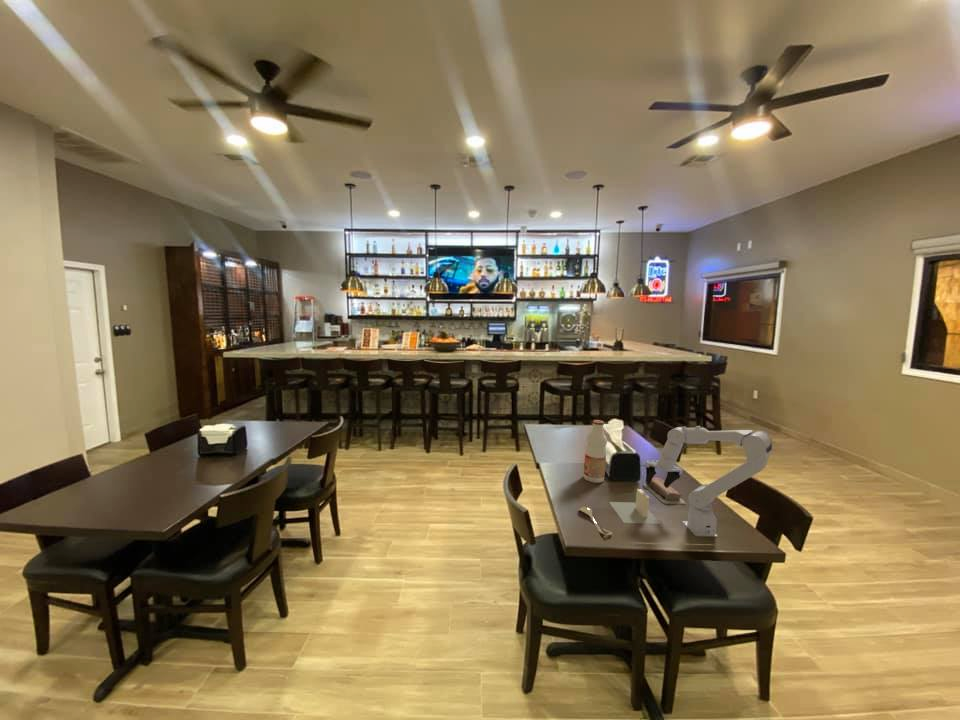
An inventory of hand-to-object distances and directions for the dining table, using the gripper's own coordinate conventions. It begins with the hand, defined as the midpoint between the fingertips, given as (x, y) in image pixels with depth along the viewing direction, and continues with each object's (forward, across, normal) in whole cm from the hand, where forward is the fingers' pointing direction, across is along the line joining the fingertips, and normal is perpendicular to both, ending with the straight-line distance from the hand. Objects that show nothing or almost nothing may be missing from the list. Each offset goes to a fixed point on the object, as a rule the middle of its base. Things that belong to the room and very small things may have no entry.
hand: (656, 484), depth 156 cm
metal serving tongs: (+14, +25, +14) cm, 31 cm away
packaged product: (+12, -13, -12) cm, 21 cm away
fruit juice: (+19, +13, -25) cm, 34 cm away
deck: (+11, +4, +5) cm, 13 cm away
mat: (+12, +7, +5) cm, 15 cm away
